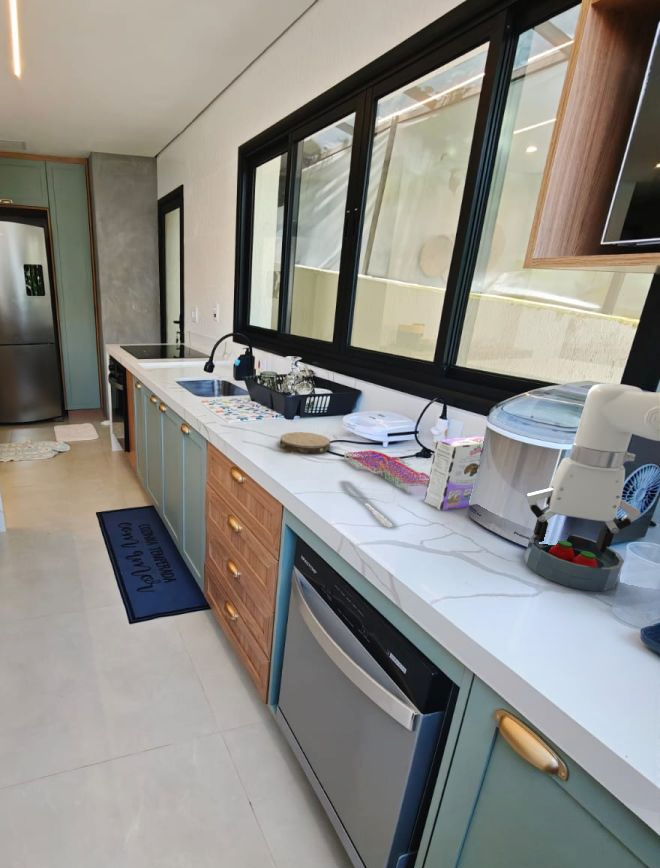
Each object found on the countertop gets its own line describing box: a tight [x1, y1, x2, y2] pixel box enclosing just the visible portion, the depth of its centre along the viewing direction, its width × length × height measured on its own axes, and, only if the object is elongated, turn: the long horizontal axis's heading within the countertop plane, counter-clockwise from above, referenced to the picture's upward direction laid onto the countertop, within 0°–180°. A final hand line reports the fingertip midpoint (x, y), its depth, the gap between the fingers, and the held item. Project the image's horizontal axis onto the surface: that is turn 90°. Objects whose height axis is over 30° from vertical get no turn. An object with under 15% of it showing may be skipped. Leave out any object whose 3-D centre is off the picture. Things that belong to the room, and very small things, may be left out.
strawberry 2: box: [571, 551, 598, 567], centre depth 92 cm, size 4×4×4 cm
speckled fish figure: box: [343, 450, 430, 493], centre depth 140 cm, size 30×15×5 cm, turn 13°
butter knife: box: [364, 502, 394, 529], centre depth 122 cm, size 1×27×3 cm
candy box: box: [424, 435, 485, 511], centre depth 120 cm, size 14×6×16 cm, turn 111°
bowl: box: [523, 534, 625, 592], centre depth 94 cm, size 14×14×5 cm
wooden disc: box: [279, 431, 331, 455], centre depth 163 cm, size 16×16×3 cm
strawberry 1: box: [549, 541, 574, 562], centre depth 95 cm, size 4×4×4 cm
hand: (569, 543), depth 94 cm, fingers open, 9 cm apart
